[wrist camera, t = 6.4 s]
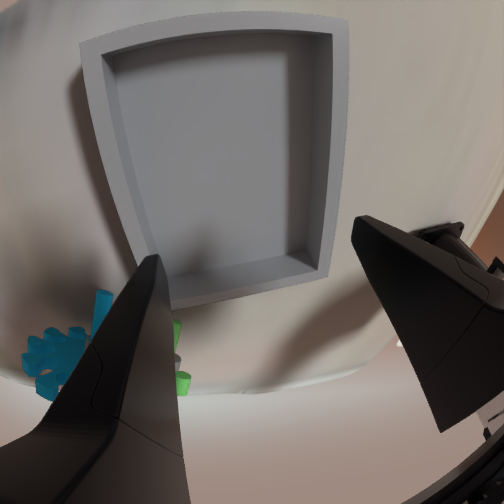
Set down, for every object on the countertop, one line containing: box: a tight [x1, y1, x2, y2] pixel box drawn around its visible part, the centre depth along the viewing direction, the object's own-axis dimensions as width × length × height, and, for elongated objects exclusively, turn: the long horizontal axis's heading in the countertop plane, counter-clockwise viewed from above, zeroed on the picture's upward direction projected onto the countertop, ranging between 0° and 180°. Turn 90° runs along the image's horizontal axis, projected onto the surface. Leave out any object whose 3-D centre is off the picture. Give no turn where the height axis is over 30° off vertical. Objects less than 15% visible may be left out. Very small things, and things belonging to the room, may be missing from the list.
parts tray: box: [79, 11, 349, 311], centre depth 13 cm, size 11×15×2 cm
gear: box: [21, 290, 191, 401], centre depth 14 cm, size 11×6×10 cm
